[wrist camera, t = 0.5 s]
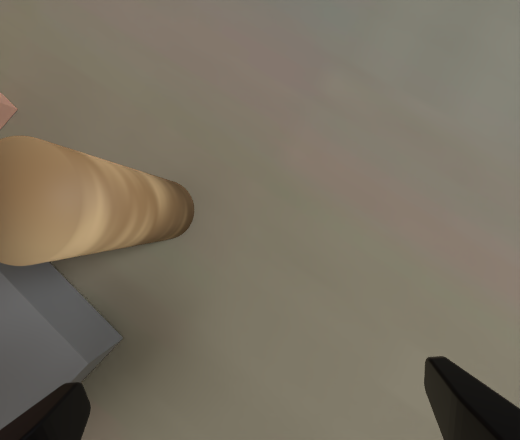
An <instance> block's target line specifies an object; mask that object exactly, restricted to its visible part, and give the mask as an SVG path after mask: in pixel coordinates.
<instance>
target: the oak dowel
mask: <svg viewBox="0 0 520 440" xmlns="http://www.w3.org/2000/svg"><path fill="white" fill-rule="evenodd" d="M193 216H194V204H193V200H192V198H191V196H190V194H189V193H188V191H187V190H186V189H185V188H184V187H183V186H181V185H180V184H178V183H176V182H173V181H170V180H167V179H163V178H160V177H157V176H154V175H151V174H148V173H145V172H141V171H138V170H135V169H132V168H129V167H126V166H122V165H119V164H116V163H113V162H110V161H107V160H104V159H100V158H97V157H94V156H91V155H88V154H85V153H82V152H78V151H75V150H72V149H69V148H66V147H63V146H60V145H56V144H53V143H50V142H47V141H44V140H41V139H37V138H34V137H29V136H11V137H6V138H2V139H0V263H4V264H7V265H13V266H27V265H34V264H39V263H44V262H50V261H55V260H60V259H66V258H71V257H77V256H82V255H87V254H93V253H98V252H103V251H109V250H114V249H120V248H125V247H130V246H136V245H141V244H146V243H152V242H157V241H163V240H168V239H173V238H176V237H178V236H180V235H181V234H183V233H184V232H185V231H186V230H187V229H188V228H189V226H190V224H191V222H192V220H193Z"/></svg>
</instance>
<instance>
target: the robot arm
mask: <svg viewBox="0 0 520 440" xmlns="http://www.w3.org/2000/svg"><path fill="white" fill-rule="evenodd" d="M424 386H425V390H426V394H427V396H428V399H429V402H430V404H431V407H432V410H433V412H434V415H435V418H436V420H437V423H438V425H439V428H440V431H441V433H442V436H443V439H444V440H520V408H518V407H517V406H515V405H514V404H512V403H511V402H509V401H508V400H507V399H505V398H504V397H502V396H501V395H499V394H498V393H496V392H495V391H494V390H492V389H491V388H489V387H488V386H486V385H485V384H483V383H482V382H481V381H479V380H478V379H476V378H475V377H473V376H472V375H470V374H469V373H468V372H466V371H465V370H463V369H462V368H460V367H459V366H457V365H456V364H455V363H453V362H452V361H450V360H449V359H447V358H446V357H443V356H437V357H428V358H427V359H426V361H425V377H424ZM90 408H91V407H90V402H89V400H88V397H87V394H86V392H85V389H84V387H83V385H82V384H81V383H80V382H70V383H64V384H63V385H61V386H60V387H58V388H57V389H56V390H54V391H53V392H51V393H50V394H49V395H47V396H46V397H45V398H43V399H42V400H40V401H39V402H38V403H36V404H35V405H34V406H32V407H31V408H29V409H28V410H27V411H25V412H24V413H23V414H21V415H20V416H18V417H17V418H16V419H14V420H13V421H12V422H10V423H9V424H7V425H6V426H5V427H3V428H2V429H1V430H0V440H81V437H82V435H83V432H84V429H85V426H86V423H87V420H88V418H89V415H90Z"/></svg>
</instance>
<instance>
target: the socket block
mask: <svg viewBox="0 0 520 440" xmlns="http://www.w3.org/2000/svg"><path fill="white" fill-rule="evenodd" d="M122 339H123V337H122V336H121V335H120V334H119V333H118V332H117V331H116V330H115V329H114V328H113V327H112V326H111V325H110V324H109V323H108V322H107V321H106V320H105V319H104V318H103V317H102V316H101V315H100V314H99V313H98V312H97V311H96V310H95V309H94V308H93V307H92V306H91V305H90V304H89V302H88V301H87V300H86V299H85V298H84V297H83V296H82V295H81V294H80V293H79V292H78V291H77V290H76V289H75V288H74V287H73V286H72V285H71V284H70V283H69V282H68V281H67V280H66V279H65V278H64V277H63V276H62V275H61V274H60V273H59V272H58V271H57V270H56V269H55V268H54V267H53V266H52V265H51V264H50V263H49V262H44V263H39V264H34V265H27V266H13V265H7V264H4V263H0V430H1V429H2V428H3V427H5V426H6V425H7V424H9V423H10V422H12V421H13V420H14V419H16V418H17V417H18V416H20V415H21V414H23V413H24V412H25V411H27V410H28V409H29V408H31V407H32V406H34V405H35V404H36V403H38V402H39V401H40V400H42V399H43V398H45V397H46V396H47V395H49V394H50V393H51V392H53V391H54V390H56V389H57V388H58V387H60V386H61V385H63V384H64V383H70V382H80V383H81V382H82V380H83V379H84V378H85V377H86V376H87V375H88V374H89V373H90V372H91V371H92V370H93V369H94V368H95V367H96V366H97V365H98V364H99V363H100V362H101V361H102V360H103V359H104V357H105V356H106V355H107V354H108V353H109V352H110V351H111V350H112V349H113V348H114V347H115V346H116V345H117V344H118V343H119V342H120V341H121V340H122Z"/></svg>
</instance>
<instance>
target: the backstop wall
mask: <svg viewBox="0 0 520 440" xmlns="http://www.w3.org/2000/svg"><path fill="white" fill-rule="evenodd" d="M17 110H18V109H17V108H16V107H15V106H14V105H13V104H12V103H11V102H10V101H9V100H8V99H7V98H6V97H5V96H4V95H3V94H2V93H1V92H0V129H1V128H2V127H3V126H4V125H5V123H6V122H7V121H8V120H9V119H10V118H11V117H12V115H13V114H14V113H15V112H16V111H17Z"/></svg>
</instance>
